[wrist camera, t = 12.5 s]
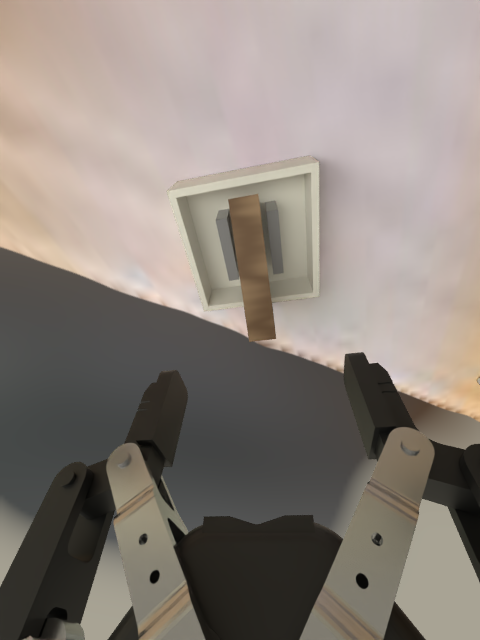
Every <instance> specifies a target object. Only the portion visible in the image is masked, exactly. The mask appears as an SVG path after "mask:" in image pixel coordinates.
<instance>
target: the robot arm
mask: <svg viewBox="0 0 480 640" xmlns="http://www.w3.org/2000/svg"><path fill="white" fill-rule="evenodd" d="M344 384H345V388H346V391H347V395H348V398H349V401H350V404H351V407H352V410H353V413H354V416H355V419H356V422H357V426H358V429H359V431H360V435H361V438H362V441H363V444H364V447H365V450H366V453H367V456H368V459H377V465H376V467H375V470H374V472H373V474H372V477H371V479H370V481H369V482H368V483H367V486H366V488H365V490H364V492H363V494H362V497H361V499H360V501H359V504H358V506H357V508H356V511H355V513H354V516H353V518H352V520H351V522H350V525H349V527H348V530H347V532H346V534H345V537H344V539H342V538H341V537H340V536H339V535H338V534H336V533H335V532H333V531H332V530H330V529H329V528H327V527H325V526H322V525H320V524H318V523H314V520H313V515H297V516H296V515H293V516H292V515H291V516H282V517H279V518H276V519H273V520H270V521H267V522H264V523H262V524H252V523H249V522H246V521H243V520H240V519H236V518H233V517H230V516H225V517H224V516H219V517H218V516H216V517H204V522H203V525H201V526H199V527H197V528H195V529H193V530H192V531H190V532H189V533H188V531H187V528H186V527H185V525H184V523H183V521H182V520H181V518H180V516H179V514H178V512H177V510H176V508H175V505H174V503H173V500H172V498H171V496H170V494H169V491H168V489H167V486H166V484H165V482H164V479H163V477H162V471H163V467H172V464H173V461H174V456H175V452H176V448H177V443H178V439H179V435H180V430H181V426H182V422H183V418H184V413H185V409H186V405H187V400H188V393H187V389H186V387H185V385H184V382H183V380H182V378H181V376H180V374H179V372H178V371H177V370H171V371H162V372H161V373H160V375H159V377H158V380H157V383H152V384H151V385H150V386H149V387H148V389H147V390H146V391H145V392H144V395H143V397H142V400H141V404H140V405H139V408H138V411H137V413H136V416H135V418H134V420H133V423H132V426H131V428H130V431H129V433H128V436H127V438H126V441H125V443H124V444H123V445H121V446H119V447H118V448H116V449H115V451H113V452H112V454H111V455H110V457H109V458H108V459H106V460H103V461H101V462H98V463H96V464H93V465H91V466H88V467H87V466H86V465H85V464H83V463H81V462H74V463H71V464H69V465H68V466H66V467H65V468H63V469H62V470H61V471H60V472H59V473H58V474H57V476H56V477H55V479H54V480H53V482H52V484H51V486H50V488H49V490H48V492H47V494H46V496H45V498H44V500H43V502H42V504H41V506H40V508H39V510H38V512H37V514H36V516H35V518H34V520H33V522H32V524H31V526H30V529H29V530H28V532H27V534H26V536H25V538H24V540H23V542H22V545H21V546H20V548H19V551H18V553H17V554H16V556H15V559H14V560H13V562H12V564H11V566H10V569H9V571H8V573H7V575H6V577H5V579H4V581H3V583H2V585H1V587H0V640H85V638H84V631H83V629H82V627H81V625H80V623H81V620H82V617H83V614H84V610H85V607H86V603H87V600H88V596H89V594H90V590H91V587H92V584H93V581H94V577H95V574H96V570H97V567H98V564H99V561H100V557H101V554H102V551H103V548H104V544H105V541H106V538H107V534H108V531H109V528H110V525H111V521H112V518H113V515H114V511H115V510H117V516H115V517H114V528H115V532H116V537H117V541H118V545H119V550H120V554H121V558H122V562H123V567H124V571H125V575H126V579H127V584H128V587H129V592H130V596H131V600H132V607H131V608H130V610H129V611H128V612H127V614H126V615H125V616H124V618H123V619H122V621H121V622H120V623H119V625H118V626H117V627H116V629H115V630H114V632H113V633H112V635H111V636H110V637H109V639H108V640H426V639H425V638H424V637H423V636H422V635H421V633H420V632H419V631H418V630H417V628H416V627H415V626H414V625H413V623H412V622H411V621H410V620H409V619H408V617H407V616H406V615H405V614H404V612H403V611H402V610H401V609H400V608H399V606H398V605H397V604H396V602H395V601H394V600H395V597H396V593H397V590H398V586H399V583H400V579H401V576H402V572H403V569H404V566H405V562H406V559H407V555H408V552H409V548H410V545H411V541H412V538H413V534H414V531H415V528H416V524H417V520H418V515H419V506H420V503H421V500H422V499H425V500H429V501H432V502H435V503H438V504H442V505H445V506H447V507H448V509H449V511H450V514H451V516H452V518H453V521H454V523H455V525H456V527H457V530H458V532H459V535H460V537H461V539H462V542H463V544H464V546H465V549H466V551H467V553H468V556H469V558H470V560H471V563H472V565H473V567H474V570H475V572H476V574H477V577H478V579H479V582H480V444H474V445H471V446H469V447H468V448H467V449H466V450H464V449H460V448H456V447H451V446H447V445H443V444H439V443H437V442H434V441H432V440H430V439H428V438H427V437H426V436H425V435H424V434H422V433H421V432H420V431H419V430H418V429H417V428H416V427H415V425H414V423H413V421H412V419H411V417H410V415H409V413H408V411H407V409H406V408H405V405H404V404H403V402H402V400H401V398H400V396H399V394H398V393H397V390H396V388H395V386H394V384H393V382H392V380H391V378H390V376H389V374H388V372H387V371H386V370H385V369H384V368H383V367H382V366H381V365H379V364H378V363H372V364H369V363H368V360H367V358H366V356H365V354H364V353H363V352H361V353H351V354H345V363H344Z"/></svg>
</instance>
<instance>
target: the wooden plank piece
mask: <svg viewBox="0 0 480 640" xmlns="http://www.w3.org/2000/svg"><path fill="white" fill-rule="evenodd" d="M228 203H229V209H230V216H231V223H232V229H233V236H234V243H235V250H236V256H237V263H238V270H239V276H240V283H241V290H242V296H243V303H244V310H245V316H246V323H247V330H248V336H249V341H250V342H251V341H260V340H269V339H276V334H275V324H274V316H273V308H272V300H271V292H270V284H269V275H268V267H267V259H266V251H265V243H264V235H263V226H262V218H261V210H260V202H259V196H258V194H254V195H249V196H243V197H238V198H232V199H228Z"/></svg>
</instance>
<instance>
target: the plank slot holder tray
mask: <svg viewBox="0 0 480 640" xmlns="http://www.w3.org/2000/svg"><path fill="white" fill-rule="evenodd" d="M167 194H168V198H169V201H170V204H171V207H172V210H173V214H174V217H175V220H176V223H177V226H178V229H179V233H180V236H181V239H182V242H183V245H184V249H185V252H186V255H187V258H188V261H189V265H190V268H191V271H192V274H193V277H194V281H195V284H196V287H197V290H198V293H199V297H200V300H201V303H202V306H203V309H204V312H205V311H213V310H221V309H228V308H236V307H244V303H243V296H242V290H241V283H240V276H239V270H238V263H237V256H236V250H235V243H234V236H233V229H232V223H231V216H230V209H229V203H228V199H232V198H238V197H243V196H249V195H254V194H258V196H259V202H260V210H261V218H262V226H263V235H264V243H265V251H266V259H267V267H268V275H269V284H270V292H271V300H272V303H275V302H282V301H290V300H298V299H306V298H313V297H319V162H318V161H317V160H316V159H314V158H313V157H311V156H304V157H299V158H294V159H289V160H284V161H279V162H274V163H269V164H264V165H259V166H254V167H248V168H243V169H238V170H233V171H228V172H223V173H218V174H213V175H208V176H203V177H197V178H192V179H187V180H182V181H177V182H176V183H175V184H174V185H173V186H172V187H171V188H170V189H168V190H167Z"/></svg>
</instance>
